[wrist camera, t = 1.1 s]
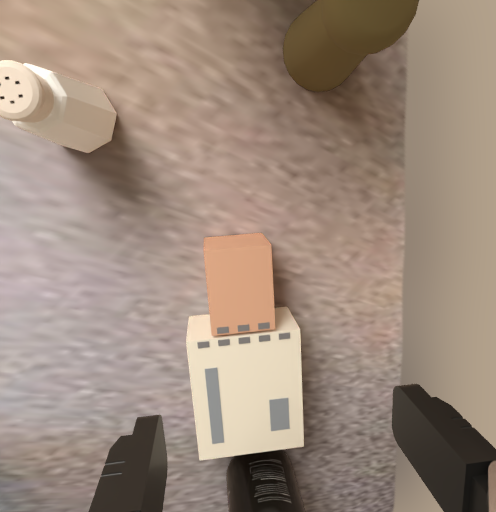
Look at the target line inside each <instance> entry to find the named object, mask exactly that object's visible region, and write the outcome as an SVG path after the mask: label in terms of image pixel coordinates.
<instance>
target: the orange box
mask: <svg viewBox="0 0 496 512" xmlns="http://www.w3.org/2000/svg"><path fill="white" fill-rule="evenodd" d="M204 260H205V271H206V281H207V292H208V302H209V313H210V323H211V334H212V336H217V335H226V334H235V333H245V332H254V331H264V330H273V329H275V309H274V289H273V269H272V249H271V244H270V242H269V241H268V240H267V239H266V238H265V236H264V235H263V234H262V233H254V234H242V235H229V236H217V237H205V238H204Z"/></svg>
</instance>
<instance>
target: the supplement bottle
mask: <svg viewBox="0 0 496 512" xmlns="http://www.w3.org/2000/svg"><path fill="white" fill-rule="evenodd" d="M226 479H227V496H228V511H229V512H305V509H304V505H303V502H302V498H301V495H300V491H299V488H298V484H297V481H296V477H295V474H294V471H293V467H292V464H291V461H290V459H289V457H288V456H287V455H286V454H285V453H284V452H283V451H282V450H274V451H267V452H259V453H252V454H244V455H237V456H234V457H233V459H232V460H231V462H230V464H229V466H228V469H227V475H226Z"/></svg>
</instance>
